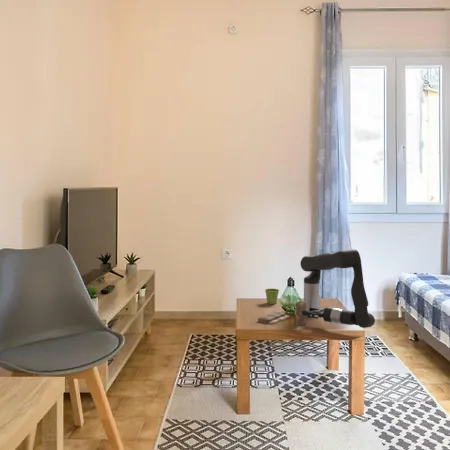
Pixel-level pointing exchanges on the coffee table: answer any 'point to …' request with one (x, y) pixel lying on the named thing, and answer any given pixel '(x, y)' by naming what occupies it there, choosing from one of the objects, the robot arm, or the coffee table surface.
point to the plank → (300, 313)
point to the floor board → (273, 317)
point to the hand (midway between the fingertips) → (305, 311)
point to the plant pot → (271, 295)
